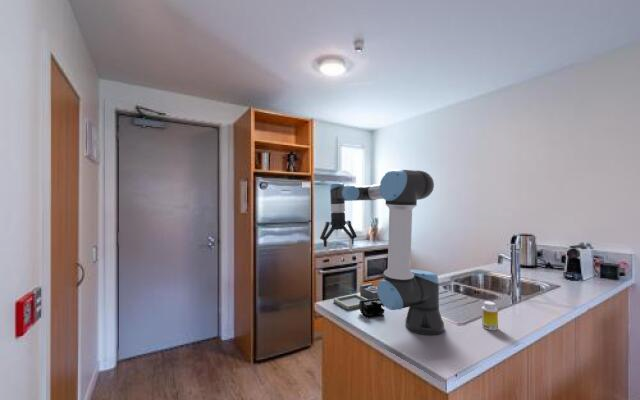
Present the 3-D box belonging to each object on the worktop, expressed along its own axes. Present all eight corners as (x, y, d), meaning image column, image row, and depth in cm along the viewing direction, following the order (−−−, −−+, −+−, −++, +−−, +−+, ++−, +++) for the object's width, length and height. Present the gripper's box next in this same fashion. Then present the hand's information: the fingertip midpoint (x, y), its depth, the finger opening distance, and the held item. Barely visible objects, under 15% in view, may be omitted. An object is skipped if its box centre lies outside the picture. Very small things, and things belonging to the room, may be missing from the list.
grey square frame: (371, 305, 146) (371, 301, 146) (348, 310, 139) (347, 306, 139) (356, 297, 158) (356, 293, 158) (333, 302, 151) (333, 298, 151)
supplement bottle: (500, 331, 114) (500, 305, 114) (486, 330, 115) (485, 305, 115) (493, 325, 120) (493, 300, 120) (479, 324, 120) (479, 300, 120)
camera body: (384, 300, 153) (384, 288, 153) (373, 302, 150) (373, 290, 150) (370, 294, 163) (370, 283, 163) (360, 296, 160) (360, 284, 160)
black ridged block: (378, 310, 139) (377, 296, 139) (385, 315, 132) (385, 301, 132) (359, 313, 136) (358, 298, 136) (365, 318, 129) (365, 303, 129)
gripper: (356, 211, 161) (357, 249, 161) (313, 212, 154) (314, 252, 154) (362, 211, 154) (363, 251, 154) (317, 213, 147) (318, 254, 147)
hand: (339, 251), depth 154 cm, fingers open, 13 cm apart
